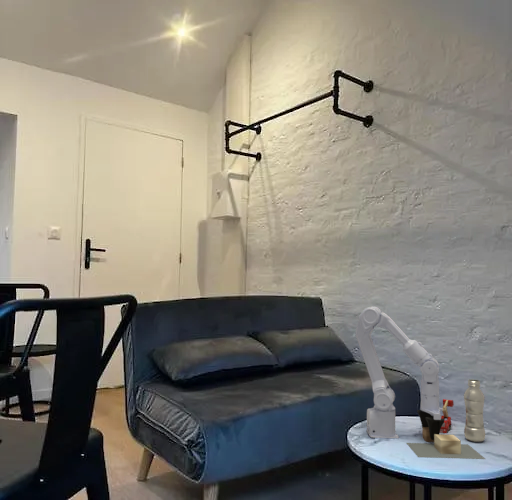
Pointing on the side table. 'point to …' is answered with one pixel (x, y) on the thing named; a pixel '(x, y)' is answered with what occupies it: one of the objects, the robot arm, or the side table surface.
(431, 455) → the grey flat rectangular panel
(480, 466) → the side table surface
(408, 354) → the robot arm
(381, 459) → the side table surface
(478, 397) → the plastic bottle
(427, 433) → the walnut block
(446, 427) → the toy fire truck
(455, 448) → the birch base block
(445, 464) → the side table surface
